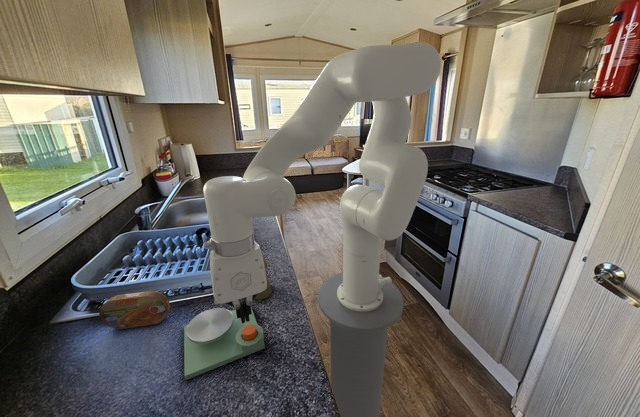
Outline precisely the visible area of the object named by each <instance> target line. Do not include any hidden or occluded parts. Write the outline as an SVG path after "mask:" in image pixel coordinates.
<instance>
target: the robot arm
mask: <svg viewBox="0 0 640 417" xmlns="http://www.w3.org/2000/svg"><path fill="white" fill-rule="evenodd" d="M441 66H442V62H441V57H440V54H439V51H438V50H437V48H436V47H434V46H433V45H432V44H431V43H429V42H426V41H415V42H407V43H405V42H403V43H393V44H376V45H368V46H362V47H358V48H356V49H352V50H349V51H345V52H343V53H340V54H337V55H336V56H334V57H332V58H331V59H330V60H329V61H328V62H327V63H326V64H325V66H324V68H323V69H322V70H321V72H320V74H319V75H318V77H317V78H316V80H315V81H314V82H313V84H312V85H311V87H310V89H309V90H308V91H307V93H306V94H305V96H304V97H303V99H302V101H301V102H300V104H299V105H298V106H297V107H296V110H295V111H294V112H293V114H292V115H291V116H290V117H289V118H288V119H287V120H286V121H285V122H284V123H283V124H282V125H280V127H279V128H278V129H277V130H276V131H275V132H274V133H273V134H272V135H271V136H270V137H269V138H268V139H267V140H266V141H265V142H264V144H263V145H262V146H261V147H260V149H259V150H258V151H257V153H256V154H255V156H254V157H253V159H252V161H250V163H249V165H248V166H247V168H246V170H245V171H244V174H243V177H241V176H235V175H228V176H227V175H225V176H217V177H213V178H211V179H209V180H207V181H206V182H205V183H204V185H203V197H204V202H205V208H206V215H207V219H208V224H209V231H210V232H209V233H210V237H211V238H209V240H207V241H204V242H203V246H204V250H210V256H209V272H210V281H211V289H212V293H213V294H212V295H213V298H212V300H213V304H214V305H225V304H226V305H229V306H231V307H233V308H234V310H236V315H237V319H238V318H241V322H242V324H243V323H245V320H246V321H247V322H248V321H250V319H249V315H251V314H252V312H251V307H252V304H253V301H254V300H255V299H254V298H255V297H256V296H257V294H258V293H261V292H263V291H264V290H266V289H267V279H266V272H267V271H266V272H265V266H264V261H263V258H264V257H263V253H262V249H261V247H260V245H259V243H258V242H257V241H255V234H254V224H253V223H254V222H253V218H263V217H264V218H265V217H267V218H269V217H270V218H271V217H277V216H281V215H284V214H286V213H288V212H289V211H291V209H292V208H293V207H294V205H295V204H296V198H297V195H296V194H297V193H296V190H295V188H294V185H293V183H291V182H290V181H289V179H286V178H285V177H284V174H285V173H286V172H287V171H288V169H289V168H290V167H291V165H292V164H294V163H295V162H296V161H297V160H298V159H300V158H301V157H302V156H305V155H307V154H309V153H311V152H314V151H317V150H319V149H321V148H323V147H325V146H327V145H328V144H329V143H330V142H331V140H332V139H333V137H334V135H335V134H336V132H337V131H338V129H339V128H340V127H341V125H342V123H343V122H344V120H345V119H346V117H347V116H348V114H349V113H350V112H351V110H352V108H353V107H354V106H355V104H356V103H372V106H373V117H372V122H371V126H370V130H369V132H368V135H367V138H366V141H365V144H364V147H363V150H362V153H361V156H360V159H359V163H358V168H359V172H360V174H361V176H362V177H363V178H364V179H367V180H369V181H370V182H373V183H375V184H379V185H381V186H383V187H384V188H383V190H380V189H377V188H374V187H372V186H369V185H366V184H354V185H351V186H349V187H348V188H347V189H346V190H344V192H343V193H342V195H341V197H340V202H339V214H340V218H341V219H340V220H341V224H342V234H343V235H342V236H343V237H342V238H343V241H342V242H343V243H342V244H343V245H342V246H343V247H342V256H343V257H342V272H343V283H342V284H341V285H340V286H339V287H338V290H337V298H338V300H339V302H340V303H341V304H342V305H343V306H345V307H346V308H348V309H350V310H353V311H358V312H367V311H372V310H374V309H376V308H378V307H379V306H380V305H381V303H382V301H383V292H382V290H381V288H383V286H384V285H388V284H391V283H393V280H392V278H391V277H390V276H387V277H384V279H382V277H383V276H382V274H380V266H381V263H380V262H381V251H382V240H384V241H393V240H396V239H398V238H399V237H401V236H402V234H403V233H404V232H405V231H406V229H407V227H408V225H409V223H410V221H411V220H412V219H411V218H412V217H413V213H414V211H415V209H416V206H417V203H418V201H419V198H420V196H421V194H422V191H423V188H424V186H425V183H426V180H427V177H428V171H429V163H428V162H429V161H428V158H427V156H426V154H425V152H424V151H423V150H422V149H421V148H419V147H418V146H415V145H412V144H407V140H408V137H409V133H410V130H411V127H412V120H413V119H412V113H411V108H410V105H409V102H408V100H407V98H408V97H413V96H418V95H422V94H424V93H426V92H428V91H429V90H430V89H431V88H432V87H433V86H434V85H435V83H436V82H437V81H438V78H439V76H440V73H441V68H442V67H441ZM381 279H382V280H381Z"/></svg>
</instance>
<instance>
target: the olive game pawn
mask: <svg viewBox="0 0 640 417" xmlns="http://www.w3.org/2000/svg"><path fill="white" fill-rule="evenodd" d="M263 261H264V266H265V272H266V279H267V289H266V290H264V291H263V292H261V293H258V294H257V296H256V297H255V298H254V299H253V300H258V301H259V300H264V299H267V298H268V297H269V296H271V294H272V286H271V283H270V280H269V276H268V272H267V267H268V261H267V260H266V259H265V258H264V257H263Z"/></svg>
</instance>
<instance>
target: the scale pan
mask: <svg viewBox="0 0 640 417" xmlns="http://www.w3.org/2000/svg"><path fill="white" fill-rule="evenodd" d="M230 311H231V310H229V309H227V308H224V307H214V308H209V309H206V310H204V311H202V312H200V313H198V314H197V315H196V316H194V317H193V318H192V319H191V320H190V322H188V324H187V325H188V327H187V336H188V338H189V340H190V341H191V342H193V343H195V344H209V343H212V342H215V341H217V340H219V339H221V338H222V337H224V336H225V335H226V334H227V333H228V332H229V331H230V329H231V328H232V326H233V321H234V320H233V315H232V313H231V312H230Z"/></svg>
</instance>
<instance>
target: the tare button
mask: <svg viewBox="0 0 640 417" xmlns="http://www.w3.org/2000/svg"><path fill="white" fill-rule="evenodd" d="M242 335H243V339H244V340H245V341H251V340H253V339H254V338H255V337H256V335H257V332H256V327H255V326H254V325H252V324H249V325H246V326H245V327H244V328H243V329H242Z"/></svg>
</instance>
